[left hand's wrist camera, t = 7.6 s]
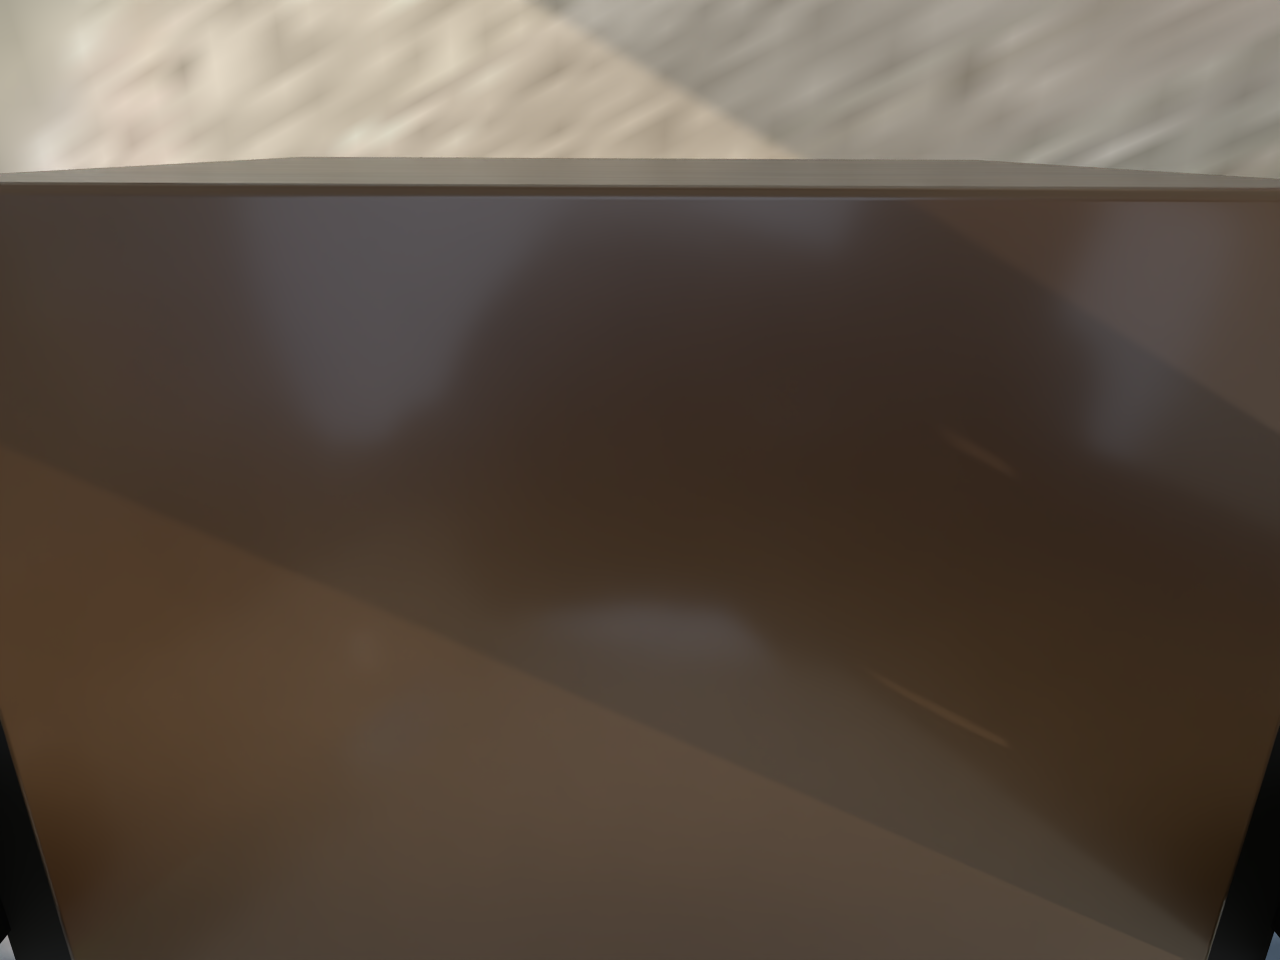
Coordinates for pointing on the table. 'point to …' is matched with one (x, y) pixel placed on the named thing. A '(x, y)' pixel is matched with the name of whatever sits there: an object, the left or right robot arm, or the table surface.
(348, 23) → the table surface
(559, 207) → the wide beam
